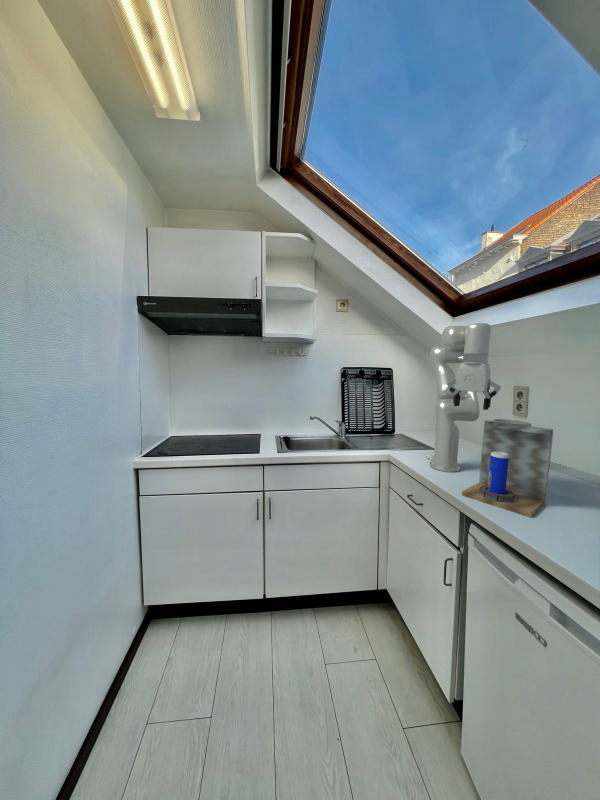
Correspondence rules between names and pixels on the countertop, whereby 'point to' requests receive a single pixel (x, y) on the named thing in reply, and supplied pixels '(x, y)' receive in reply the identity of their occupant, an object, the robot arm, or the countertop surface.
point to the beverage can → (498, 472)
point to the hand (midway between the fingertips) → (470, 407)
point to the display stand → (516, 466)
